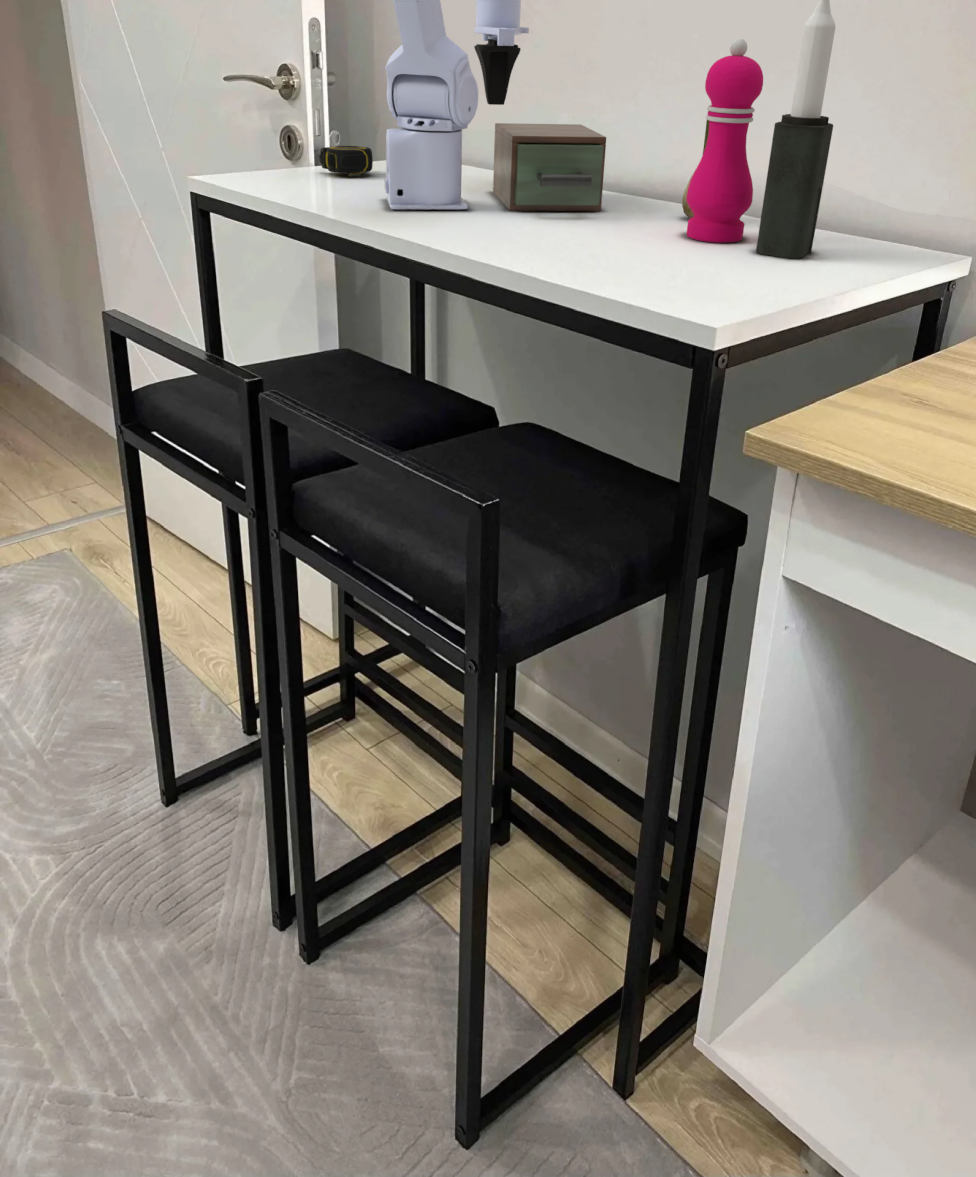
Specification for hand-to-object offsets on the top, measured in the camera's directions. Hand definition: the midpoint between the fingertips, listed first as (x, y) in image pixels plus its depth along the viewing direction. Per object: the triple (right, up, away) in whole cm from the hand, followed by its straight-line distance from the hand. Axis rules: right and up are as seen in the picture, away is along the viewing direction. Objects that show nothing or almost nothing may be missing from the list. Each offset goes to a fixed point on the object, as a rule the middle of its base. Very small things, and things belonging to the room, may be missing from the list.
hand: (495, 104), depth 142 cm
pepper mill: (+25, -25, -22) cm, 42 cm away
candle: (+31, -29, -28) cm, 51 cm away
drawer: (+7, -16, -8) cm, 19 cm away
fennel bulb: (+25, -20, -12) cm, 34 cm away
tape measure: (-22, -5, +11) cm, 25 cm away
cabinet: (+6, -15, -4) cm, 17 cm away
